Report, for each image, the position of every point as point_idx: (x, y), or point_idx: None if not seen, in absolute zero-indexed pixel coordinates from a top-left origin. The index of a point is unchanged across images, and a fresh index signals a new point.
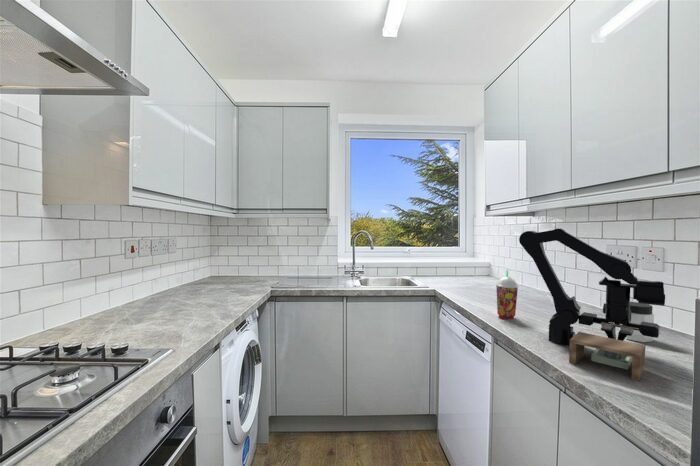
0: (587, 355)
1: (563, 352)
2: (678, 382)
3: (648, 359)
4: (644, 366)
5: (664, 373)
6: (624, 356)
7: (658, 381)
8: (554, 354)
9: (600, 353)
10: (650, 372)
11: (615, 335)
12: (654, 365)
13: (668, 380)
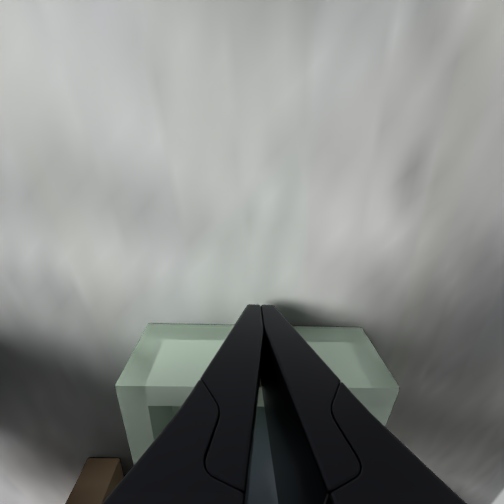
0: (117, 422)
1: (8, 457)
2: (495, 471)
3: (481, 227)
4: None
5: (479, 417)
6: None
7: None
8: (4, 500)
9: (172, 412)
10: (413, 443)
11: (247, 490)
12: (474, 335)
13: (461, 475)
